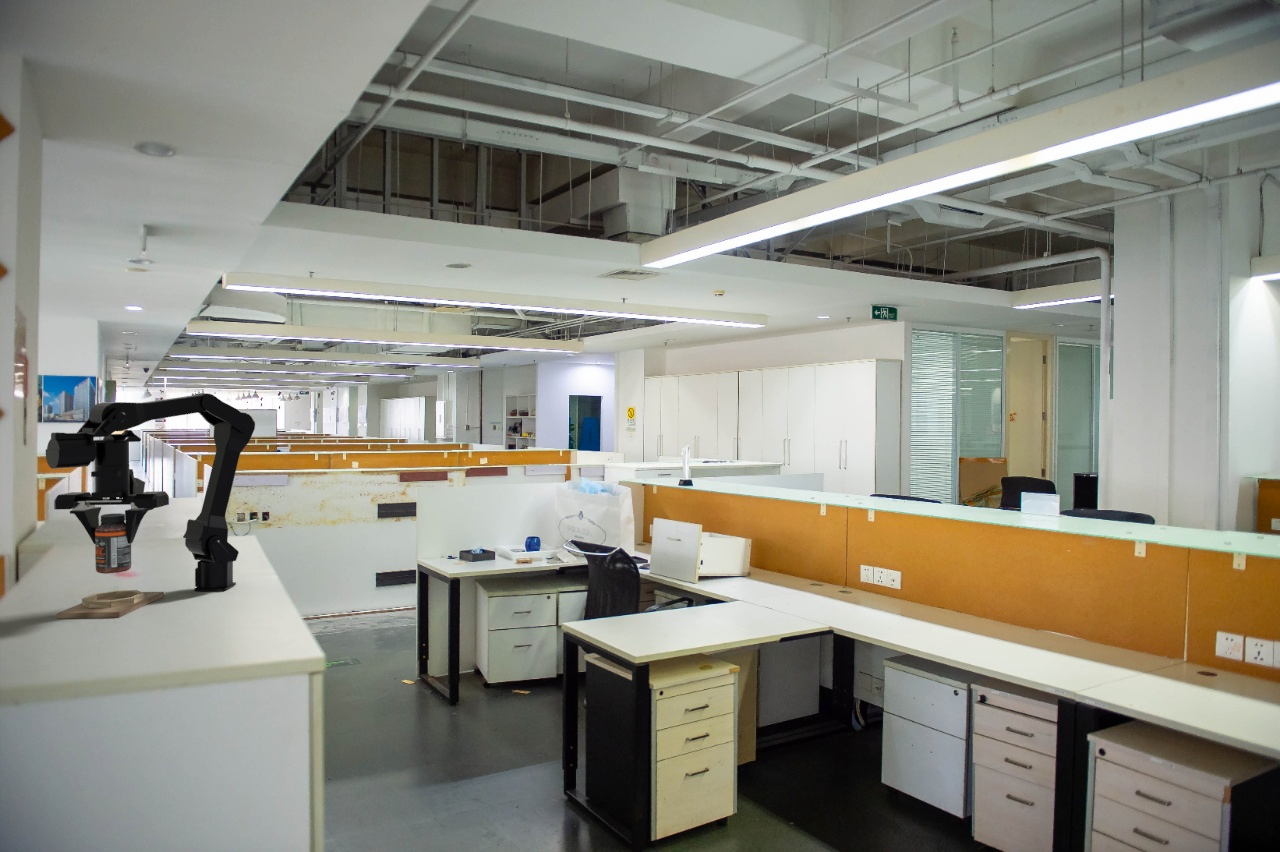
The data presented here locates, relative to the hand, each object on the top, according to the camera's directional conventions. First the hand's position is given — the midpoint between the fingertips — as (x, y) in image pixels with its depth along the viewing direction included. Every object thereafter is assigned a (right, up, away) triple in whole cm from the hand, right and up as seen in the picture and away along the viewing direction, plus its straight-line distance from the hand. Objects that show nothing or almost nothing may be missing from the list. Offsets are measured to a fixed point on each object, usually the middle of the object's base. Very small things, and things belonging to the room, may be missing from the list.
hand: (113, 543), depth 156 cm
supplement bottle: (0, -6, 0) cm, 6 cm away
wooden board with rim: (0, -13, +1) cm, 13 cm away
